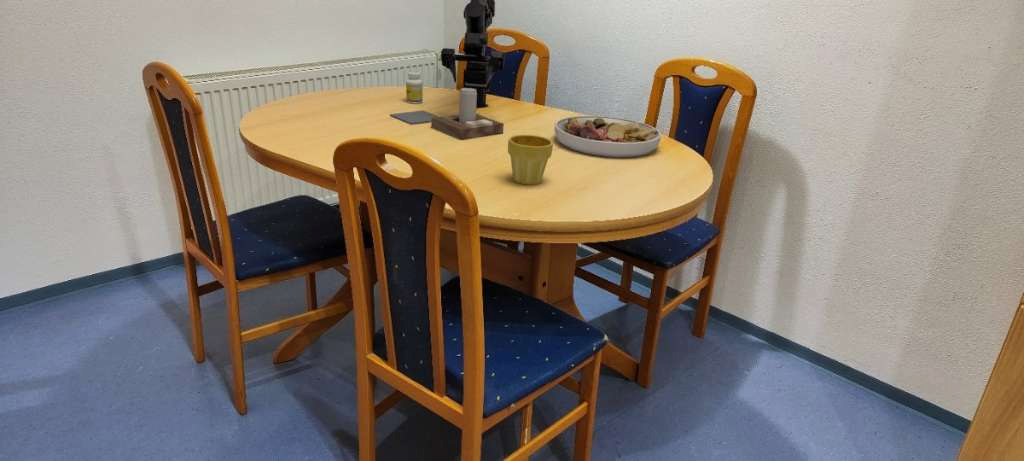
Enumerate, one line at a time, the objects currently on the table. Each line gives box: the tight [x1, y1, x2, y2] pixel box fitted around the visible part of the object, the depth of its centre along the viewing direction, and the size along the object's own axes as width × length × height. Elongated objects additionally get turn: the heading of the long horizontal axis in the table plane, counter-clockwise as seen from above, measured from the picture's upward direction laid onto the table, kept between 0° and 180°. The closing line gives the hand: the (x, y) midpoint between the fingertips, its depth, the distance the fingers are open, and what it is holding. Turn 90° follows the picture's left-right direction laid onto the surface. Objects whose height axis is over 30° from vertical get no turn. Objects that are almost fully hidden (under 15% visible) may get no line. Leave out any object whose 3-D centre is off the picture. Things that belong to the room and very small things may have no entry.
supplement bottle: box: [405, 71, 424, 105], centre depth 224 cm, size 5×5×10 cm
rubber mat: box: [389, 109, 440, 126], centre depth 206 cm, size 12×12×1 cm
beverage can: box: [458, 88, 477, 124], centre depth 194 cm, size 5×5×12 cm
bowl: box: [553, 115, 662, 158], centre depth 191 cm, size 30×30×8 cm
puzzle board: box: [430, 113, 505, 141], centre depth 196 cm, size 15×15×4 cm
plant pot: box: [507, 133, 554, 186], centre depth 156 cm, size 10×10×10 cm
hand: (470, 82), depth 198 cm, fingers open, 9 cm apart
